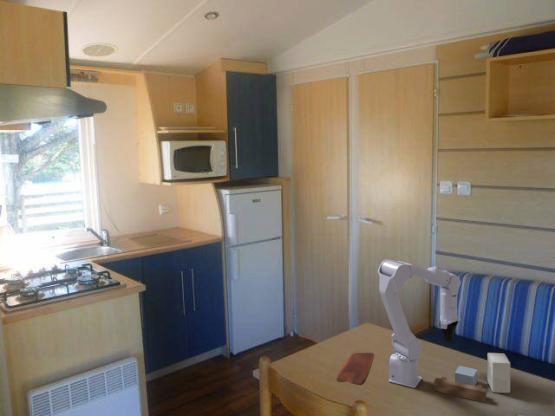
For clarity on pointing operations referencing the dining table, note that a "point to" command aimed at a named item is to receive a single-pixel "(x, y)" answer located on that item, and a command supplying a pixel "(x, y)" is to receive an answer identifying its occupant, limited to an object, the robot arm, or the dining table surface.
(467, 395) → the rail
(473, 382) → the block
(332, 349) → the dining table surface
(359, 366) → the wooden tablet
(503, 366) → the small box
